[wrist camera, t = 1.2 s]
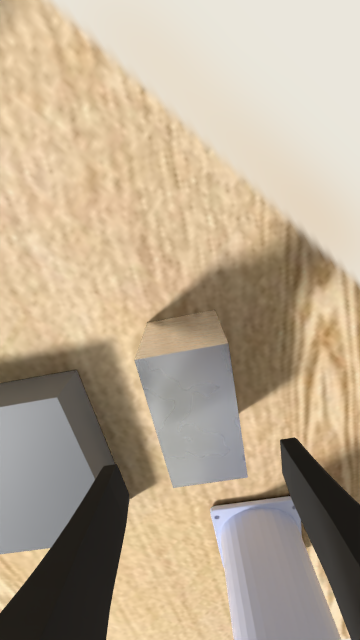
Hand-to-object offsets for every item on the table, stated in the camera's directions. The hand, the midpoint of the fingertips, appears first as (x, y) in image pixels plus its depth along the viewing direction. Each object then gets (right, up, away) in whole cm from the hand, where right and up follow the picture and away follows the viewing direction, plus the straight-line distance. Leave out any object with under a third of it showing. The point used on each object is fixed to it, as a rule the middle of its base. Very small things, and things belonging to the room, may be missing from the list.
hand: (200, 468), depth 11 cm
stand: (-13, -5, +10) cm, 17 cm away
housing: (0, +3, +7) cm, 8 cm away
